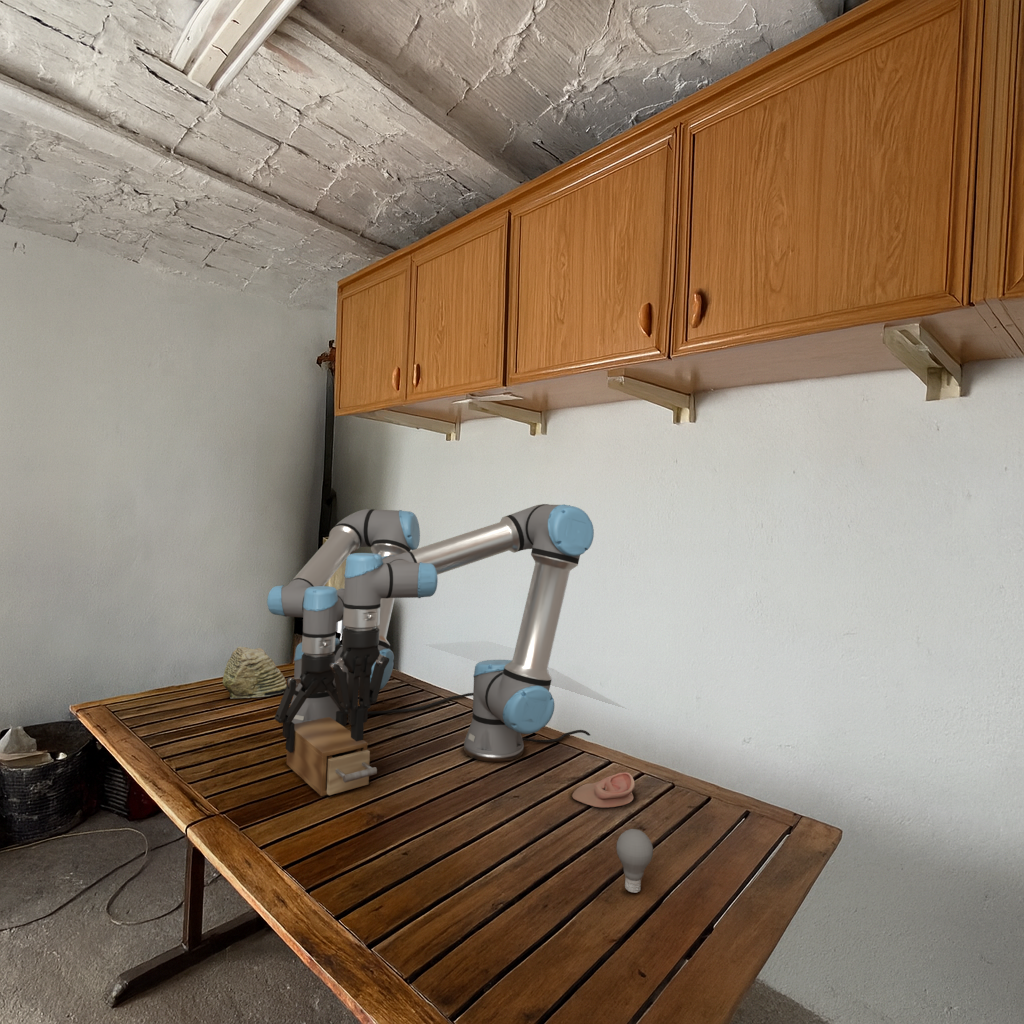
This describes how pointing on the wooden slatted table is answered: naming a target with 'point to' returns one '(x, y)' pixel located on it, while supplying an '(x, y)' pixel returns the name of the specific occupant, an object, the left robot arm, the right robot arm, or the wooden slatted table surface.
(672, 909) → the wooden slatted table surface
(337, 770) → the drawer
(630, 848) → the light bulb
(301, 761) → the cabinet
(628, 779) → the anatomical model
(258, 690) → the fossil
